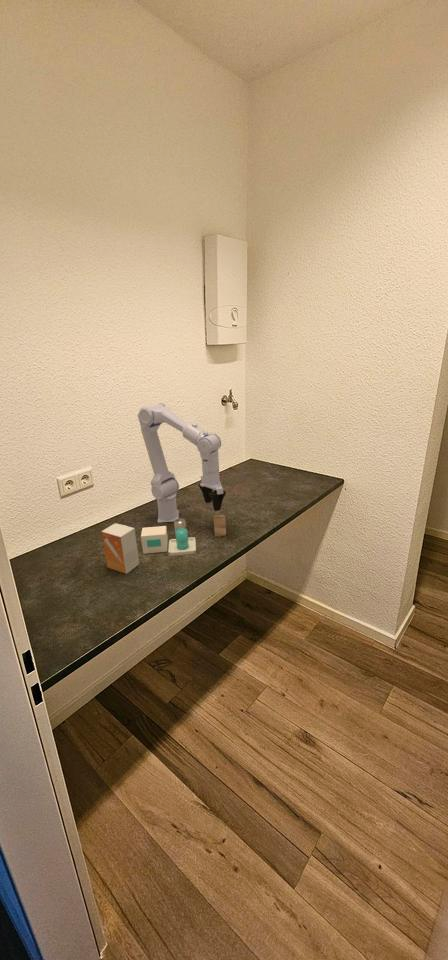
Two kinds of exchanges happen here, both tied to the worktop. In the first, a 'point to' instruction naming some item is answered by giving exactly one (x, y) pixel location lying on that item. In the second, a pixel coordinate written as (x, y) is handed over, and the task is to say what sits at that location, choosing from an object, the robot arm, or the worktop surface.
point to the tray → (190, 550)
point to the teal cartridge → (182, 538)
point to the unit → (154, 539)
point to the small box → (120, 548)
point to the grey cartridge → (179, 524)
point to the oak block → (219, 525)
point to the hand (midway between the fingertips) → (212, 506)
